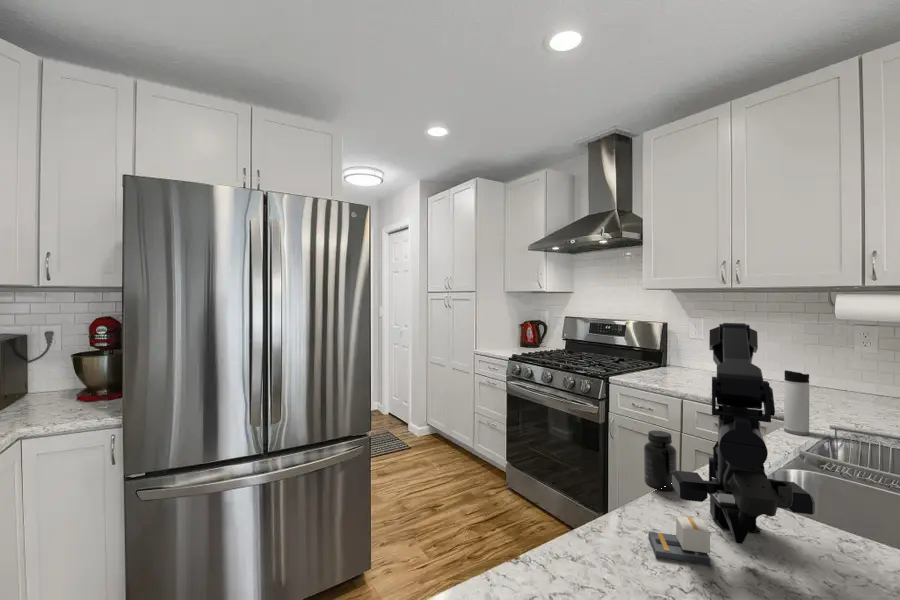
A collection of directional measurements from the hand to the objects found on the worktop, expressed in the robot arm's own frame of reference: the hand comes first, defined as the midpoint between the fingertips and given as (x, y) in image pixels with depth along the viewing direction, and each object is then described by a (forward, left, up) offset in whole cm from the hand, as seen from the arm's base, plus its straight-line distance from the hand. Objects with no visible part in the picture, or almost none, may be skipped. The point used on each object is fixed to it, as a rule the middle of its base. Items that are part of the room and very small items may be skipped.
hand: (738, 542), depth 69 cm
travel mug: (-45, -80, -3) cm, 92 cm away
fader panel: (+9, 0, -3) cm, 9 cm away
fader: (+7, 0, -1) cm, 7 cm away
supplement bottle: (+6, -27, -3) cm, 28 cm away
